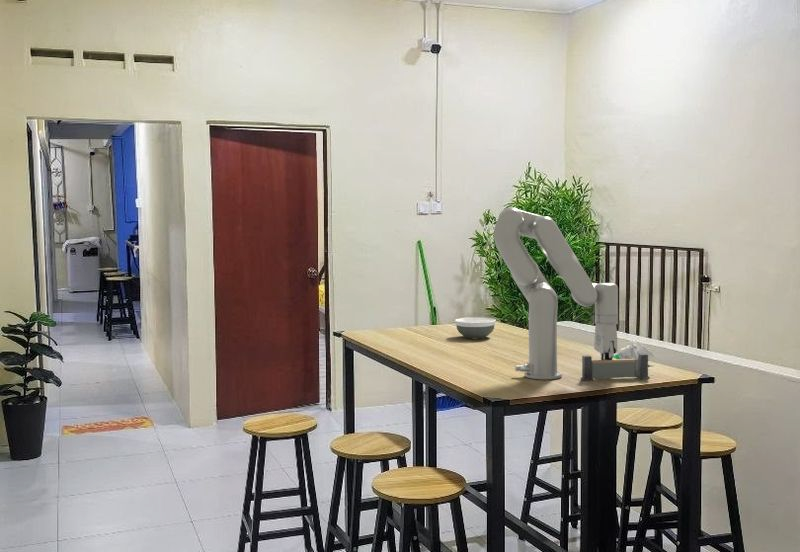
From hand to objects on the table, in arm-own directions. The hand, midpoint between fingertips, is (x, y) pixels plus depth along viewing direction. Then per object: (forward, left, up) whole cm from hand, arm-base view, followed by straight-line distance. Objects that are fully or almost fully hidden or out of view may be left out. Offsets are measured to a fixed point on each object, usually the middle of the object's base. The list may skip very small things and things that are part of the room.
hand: (606, 372), depth 271 cm
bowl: (-27, +95, -2) cm, 99 cm away
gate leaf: (+1, -4, -1) cm, 4 cm away
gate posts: (+1, -4, -1) cm, 5 cm away
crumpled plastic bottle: (+16, +18, -2) cm, 24 cm away
